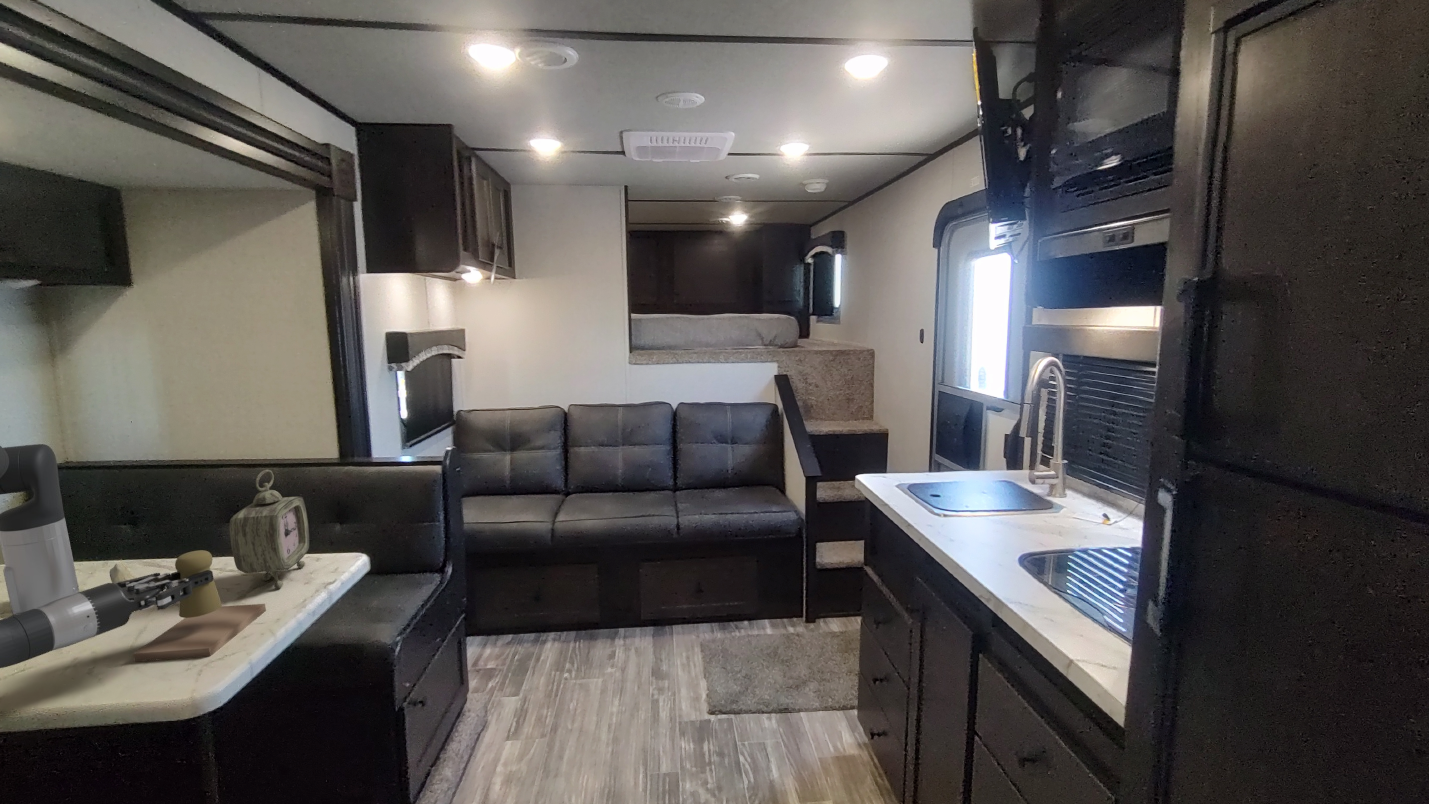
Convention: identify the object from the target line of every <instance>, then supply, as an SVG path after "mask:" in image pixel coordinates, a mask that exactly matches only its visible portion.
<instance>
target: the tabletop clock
mask: <svg viewBox="0 0 1429 804" xmlns="http://www.w3.org/2000/svg"><path fill="white" fill-rule="evenodd" d="M267 473H268V474H270V481H269V482H264V483H263V484H262V487H260V486H259V481H260V479H261V478H262V476H263V475H264V474H267ZM274 478H275V477H274V473H273V471H272V470H270V469H263V470H262V471H261V472H259V473H258V474H257V476H256V479H255V488H256V489H257V490H258V493H257V494H256V495H255V497H254V498H253V502H252V503H251V504H249V505H246V506H245V507H244V508H242V509H241V510H238V512H236V513H235V514H234V515H233V516H232V517H231V518H230V520H229V536H230V545H231V551H232V556H233V560H234V562H233V563H234V564H235V565H234V566H235V568H236V569H237V570H238V571H240V572H242V573H244V574H255V573H256V574H257V573H264V574H262V576H261V578H262V580H263V581H264V582H267V581H269V580H270V579H271V578H272V577H273V579H274V581H275V583H273V587H274V589H277V590H278V589H281V588H282V587H283V585H284V582H283V581H281V580H279V575H278V571H287V570H290V569H291V568H293V567H294V566H295V565H296V567H297V568H299V569H301V568H305V566H306V562H305V560H302V559H303V558H304V557H305V556H306V554H307V553H308V551H309V549H310V530H309V520H308V513H307V509H306V503H305V499H304V498H303V496H288V497H283V496H282V495H281V493H280V492H279V491H276V490H274V489H270V488H272V485H273V484H274Z"/></svg>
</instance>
